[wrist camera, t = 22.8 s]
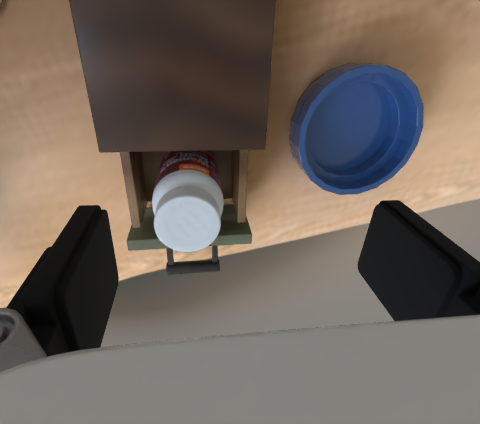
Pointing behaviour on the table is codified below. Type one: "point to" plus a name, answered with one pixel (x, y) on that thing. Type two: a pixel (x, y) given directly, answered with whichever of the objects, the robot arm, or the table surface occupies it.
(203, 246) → the pill bottle
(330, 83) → the bowl
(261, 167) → the table surface
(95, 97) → the cabinet
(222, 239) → the drawer
